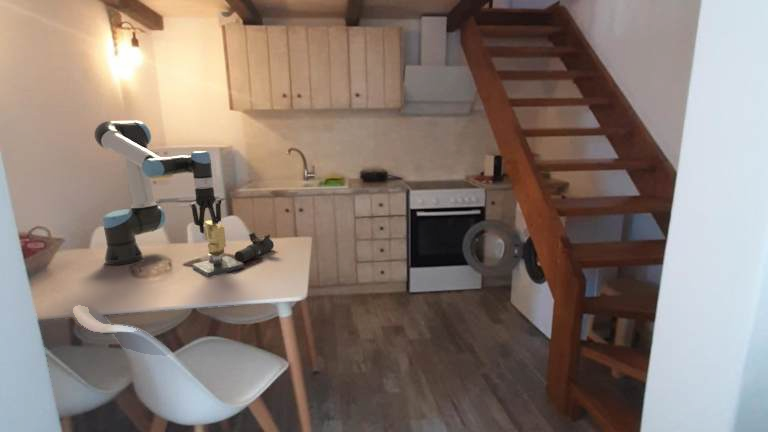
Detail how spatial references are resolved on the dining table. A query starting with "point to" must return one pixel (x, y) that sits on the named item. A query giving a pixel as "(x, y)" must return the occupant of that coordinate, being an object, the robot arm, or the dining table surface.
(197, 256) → the dining table surface
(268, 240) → the laser sight
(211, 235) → the lever handle
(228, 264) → the post base
